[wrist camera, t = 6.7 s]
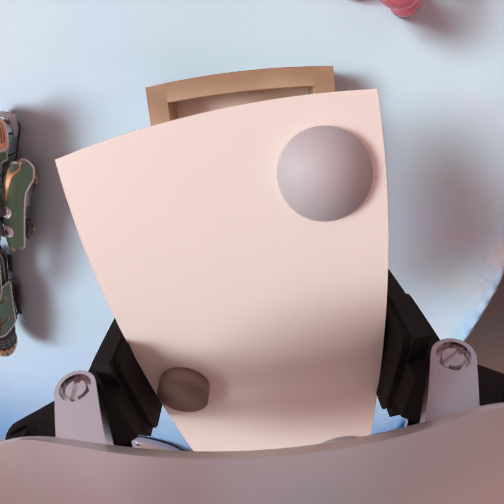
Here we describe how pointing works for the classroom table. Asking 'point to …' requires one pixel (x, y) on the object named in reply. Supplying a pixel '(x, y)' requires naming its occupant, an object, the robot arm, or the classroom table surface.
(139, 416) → the robot arm
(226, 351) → the pale pink knobbed block
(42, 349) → the classroom table surface
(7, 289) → the hoverbike
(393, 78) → the classroom table surface
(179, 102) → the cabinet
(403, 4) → the anatomy model
